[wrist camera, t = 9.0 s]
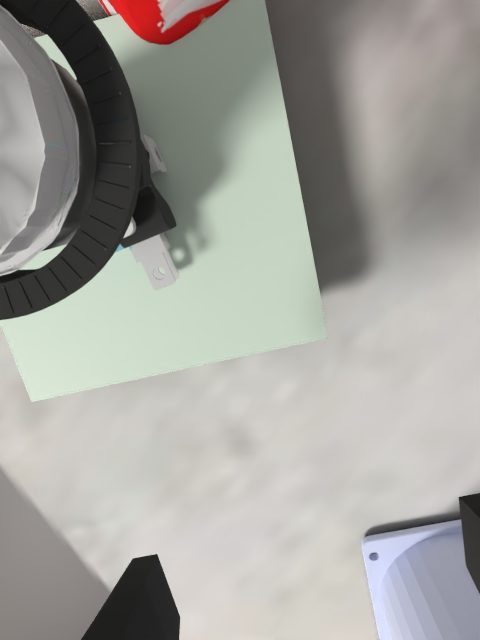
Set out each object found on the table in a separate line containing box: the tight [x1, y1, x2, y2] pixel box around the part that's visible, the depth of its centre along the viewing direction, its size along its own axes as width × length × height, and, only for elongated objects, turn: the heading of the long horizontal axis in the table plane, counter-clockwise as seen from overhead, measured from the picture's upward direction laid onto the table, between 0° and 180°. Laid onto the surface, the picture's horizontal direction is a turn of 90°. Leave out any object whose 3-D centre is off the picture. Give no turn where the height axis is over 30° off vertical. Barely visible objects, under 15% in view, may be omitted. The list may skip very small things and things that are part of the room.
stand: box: [0, 0, 328, 402], centre depth 17 cm, size 12×12×3 cm
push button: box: [0, 0, 179, 320], centre depth 10 cm, size 7×5×10 cm
